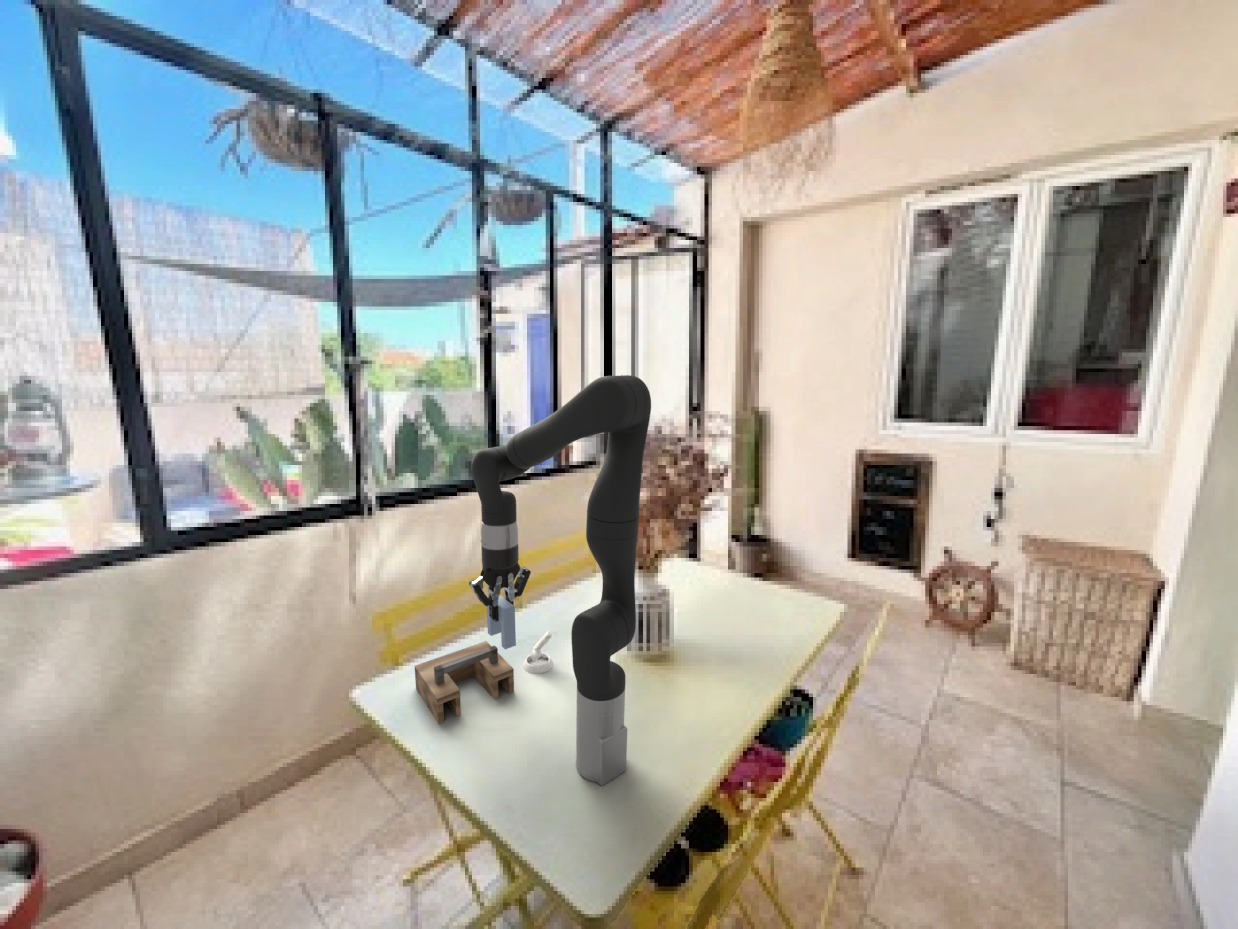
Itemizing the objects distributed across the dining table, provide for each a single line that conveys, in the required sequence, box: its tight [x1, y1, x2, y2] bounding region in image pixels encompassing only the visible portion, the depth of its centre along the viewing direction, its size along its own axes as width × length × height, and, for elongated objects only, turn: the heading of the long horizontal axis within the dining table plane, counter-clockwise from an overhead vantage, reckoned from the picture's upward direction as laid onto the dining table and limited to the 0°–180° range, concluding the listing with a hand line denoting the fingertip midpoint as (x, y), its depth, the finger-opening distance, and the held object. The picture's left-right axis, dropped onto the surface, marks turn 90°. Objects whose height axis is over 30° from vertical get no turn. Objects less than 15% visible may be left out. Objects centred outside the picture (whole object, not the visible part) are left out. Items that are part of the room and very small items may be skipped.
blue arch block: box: [485, 594, 517, 650], centre depth 109 cm, size 8×2×9 cm, turn 39°
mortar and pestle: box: [522, 630, 554, 675], centre depth 130 cm, size 8×12×7 cm
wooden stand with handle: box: [414, 640, 515, 725], centre depth 119 cm, size 15×18×10 cm
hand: (501, 617), depth 108 cm, fingers closed on blue arch block, 2 cm apart
